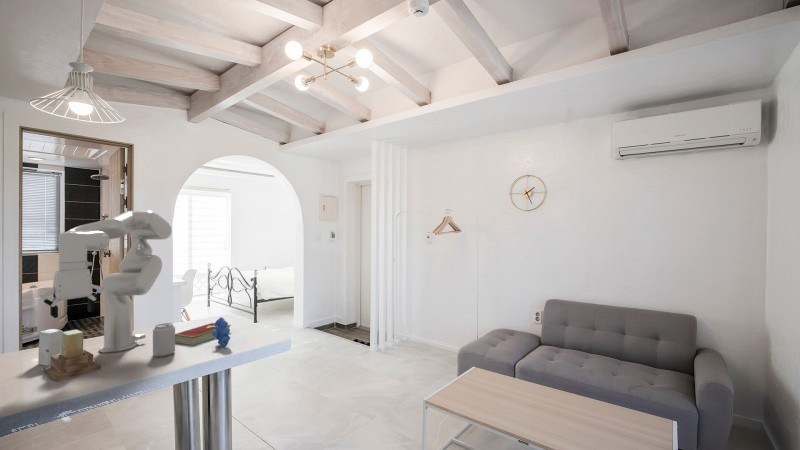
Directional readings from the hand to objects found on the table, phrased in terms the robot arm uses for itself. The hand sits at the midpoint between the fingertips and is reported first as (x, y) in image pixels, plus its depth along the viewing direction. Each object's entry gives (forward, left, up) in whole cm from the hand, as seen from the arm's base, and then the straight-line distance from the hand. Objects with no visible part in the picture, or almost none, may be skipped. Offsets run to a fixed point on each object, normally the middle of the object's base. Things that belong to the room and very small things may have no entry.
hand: (73, 314), depth 129 cm
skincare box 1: (+2, -16, -20) cm, 26 cm away
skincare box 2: (0, 0, -19) cm, 19 cm away
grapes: (-44, +18, -20) cm, 51 cm away
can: (-26, +9, -20) cm, 34 cm away
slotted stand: (0, 0, -20) cm, 20 cm away
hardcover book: (-47, -1, -21) cm, 51 cm away
